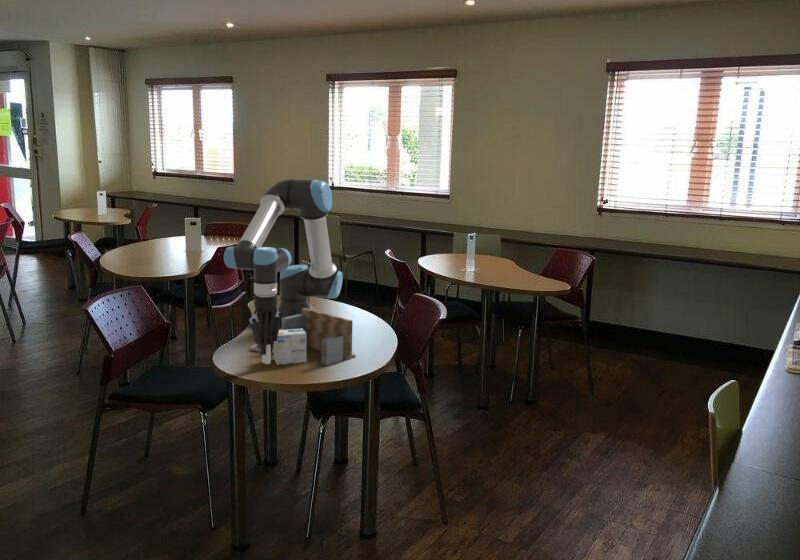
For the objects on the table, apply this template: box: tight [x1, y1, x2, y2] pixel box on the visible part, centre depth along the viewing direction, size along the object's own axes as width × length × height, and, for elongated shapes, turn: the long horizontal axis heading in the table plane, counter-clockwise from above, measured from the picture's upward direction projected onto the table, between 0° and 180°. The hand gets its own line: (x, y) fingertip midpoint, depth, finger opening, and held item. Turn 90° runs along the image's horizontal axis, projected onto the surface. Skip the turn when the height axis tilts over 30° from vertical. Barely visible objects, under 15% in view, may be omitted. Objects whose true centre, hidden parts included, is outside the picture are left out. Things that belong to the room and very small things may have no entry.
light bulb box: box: [273, 328, 307, 366], centre depth 228 cm, size 11×7×11 cm, turn 111°
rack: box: [281, 308, 357, 360], centre depth 237 cm, size 25×13×14 cm, turn 50°
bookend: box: [321, 335, 344, 367], centre depth 228 cm, size 2×8×9 cm, turn 140°
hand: (266, 362), depth 221 cm, fingers closed
